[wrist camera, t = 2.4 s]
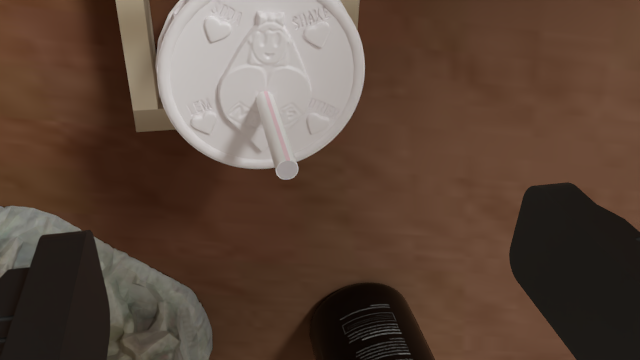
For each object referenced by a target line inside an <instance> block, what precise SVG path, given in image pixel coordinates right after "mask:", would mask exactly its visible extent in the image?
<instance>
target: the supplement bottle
mask: <svg viewBox="0 0 640 360" xmlns="http://www.w3.org/2000/svg"><path fill="white" fill-rule="evenodd" d="M310 339H311V343H312V347H313V351H314V355H315V359H316V360H435V358H434V356H433V354H432V352H431V350H430V348H429V346H428V344H427V342H426V340H425V338H424V336H423V334H422V332H421V330H420V328H419V326H418V323H417V321H416V319H415V317H414V315H413V314H412V311H411V309H410V307H409V305H408V304H407V302H406V300H405V298H404V297H403V296H402V295H401V294H400V293H399V292H398V291H397V290H395V289H394V288H392V287H390V286H387V285H384V284H380V283H359V284H354V285H351V286H348V287H345V288H343V289H341V290H338V291H337V292H335V293H333V294H332V295H330V296H329V297H328V298H327V299H325V300H324V301H323V302H322V303H321V304H320V306H319V307H318V308H317V310H316V311H315V313H314V315H313V317H312V320H311V323H310Z"/></svg>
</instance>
